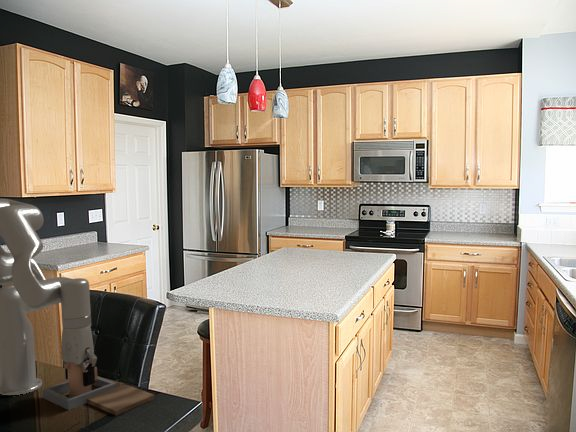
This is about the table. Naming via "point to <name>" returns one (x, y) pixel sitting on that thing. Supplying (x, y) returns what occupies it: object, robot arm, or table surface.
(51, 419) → the table surface
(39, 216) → the robot arm
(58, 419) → the table surface
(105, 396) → the board
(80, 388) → the tan tapered capsule
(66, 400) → the holder frame
